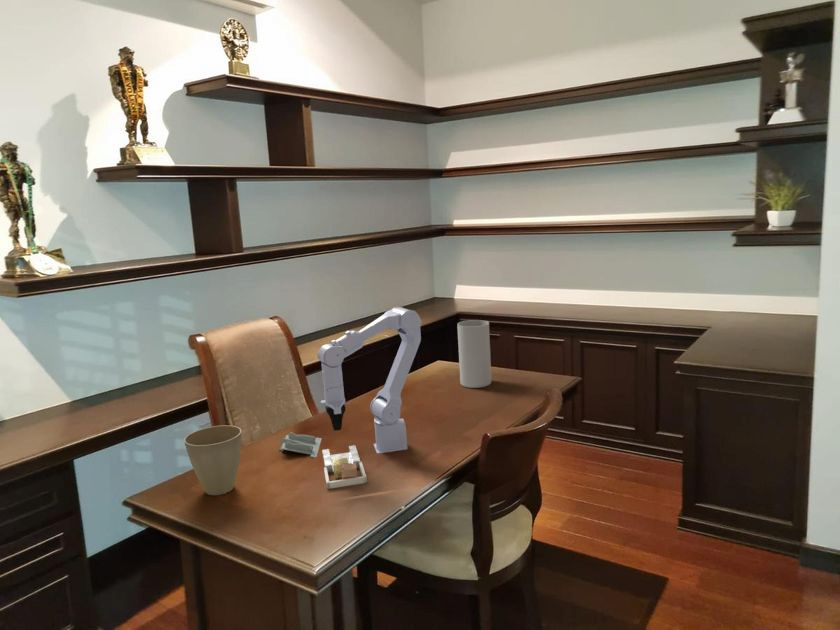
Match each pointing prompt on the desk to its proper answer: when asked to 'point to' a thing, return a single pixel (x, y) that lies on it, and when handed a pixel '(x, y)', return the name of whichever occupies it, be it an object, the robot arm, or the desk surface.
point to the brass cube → (339, 466)
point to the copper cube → (349, 470)
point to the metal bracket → (301, 444)
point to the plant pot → (215, 457)
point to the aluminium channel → (351, 457)
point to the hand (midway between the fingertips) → (337, 429)
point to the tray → (346, 481)
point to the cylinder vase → (474, 353)
